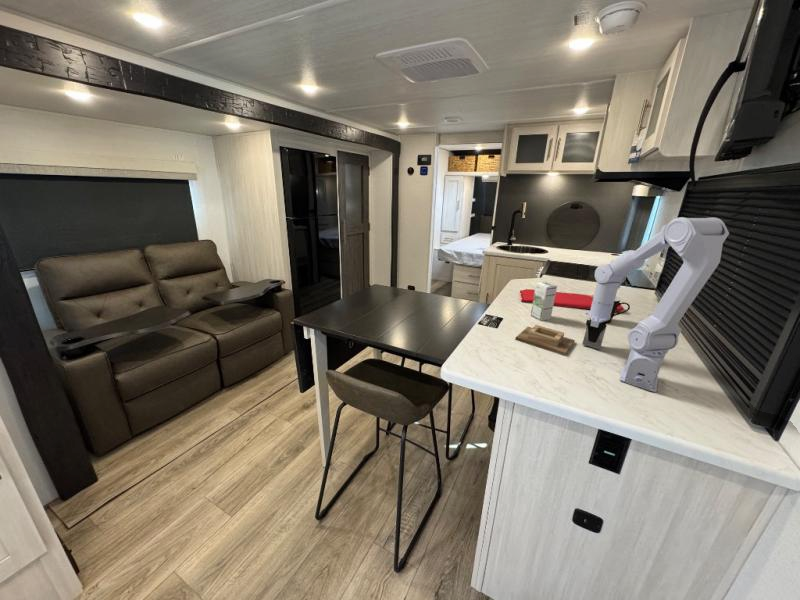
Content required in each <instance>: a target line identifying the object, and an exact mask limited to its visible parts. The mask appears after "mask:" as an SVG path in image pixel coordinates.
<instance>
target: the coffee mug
mask: <svg viewBox="0 0 800 600" xmlns="http://www.w3.org/2000/svg"><path fill="white" fill-rule="evenodd" d="M620 305H627V309H626V310H623V311H619V312H617V311H616V309H617V307H618V306H620ZM630 308H631V305H630V304H629V303H627V302H625V301H624V302H621V297H618V296H616V297H615V301H614V304H613V308H612V312H611V315H610V316H611V318H610V321H609V323H607V324H606V325H608V324H611V322H612V321H613V318H614V317H616V316H618V315H619V316H620V315H622V314H625V313H626V312H628V311H629V310H630ZM616 312H617V313H616Z"/></svg>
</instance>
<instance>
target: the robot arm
mask: <svg viewBox="0 0 800 600" xmlns="http://www.w3.org/2000/svg"><path fill="white" fill-rule="evenodd" d="M729 235H730V232H729V230H728V228H727V225H726V224H725V222H724V221H723V220H722V219H721V218H718V217H683V216H681V217H675V218H674V219H672V220H671V221H669V222H668V223H666V224H665V225H663V226H662V227H661V230H660V231H659V232H657V234H655V235H653V237H651V238H650V239H649V240H647V241H646V242H645V243H644V244H642V245H641V246H640V247H639V248H637V249H636V250H633V249H630V250H624V251H622V252H621V255H619V256H618V257H617V258H615V259H612V260H610V261H609V263H608V264H599V266H598V267H596V269H595V270H594V279H595V281H596V284H595V285H596V286H595V289H594V293H593V295H594V297H593V301H592V305H591V309H589V310H586V311H585V312H584V314H585V315H588V318H589V319H586V322H585V324H586V328H587V327H588V341H590V342H593V343H596V341H597V340H598V338H599V335H600V333H601V332H602V331H603V330H604V329H605V328H606V329H607V327H608V326H607V325H608V324H607V323H609V321H610V318H611V316H610V315H611V312H612V308H613V304H614V301H615V297H617V294H618V290H619V289H620V288H621V285H622V283H624V282H625V281H626V279H627V276H629V275H631V274H632V273H634V272H636V271H637V270H638V269H640V268H643V267H644V265H645V262H646V261H645V260H648V259H650V258H651V257H653V256H655V255H656V254H659V253H661V252H662V251H664V250H666V249H668V248H670V247H671V249H673V250H674V251H675V253H677V255H678V256H679V257H680V258H681V259H682V261H683V263H682V264H681V266H680V268H679V269H678V271H677V272H676V274H675V276H674V277H673V279H672V281H671V283H670V284H669V286H668V287H667V289H666V291H665V292H664V294H663V295H662V297H661V299H660V300H659V302H658V303H657V304H656V306H655V308H654V310H653V312H652V313H651V314H650V316H647V317H646V318H644V319H642V320H641V321H638V323H637V325H636V326H635V327H632V328H631V329H630V330H629V331H628V332H627V333H628V334H627V343H628V344H629V348H630V352H629V354H628V358H627V361H626V364H625V365H624V366H623V368H622V371H621V374H620V377H619V381H620V382H623V383H626V384H629V385H631V386H634V387H638V388H641V389H644V390H646V391H650V392H653V393H656V392H657V389H658V380H659V379H658V378H659V373H660V370H661V367H662V364H663V361H664V359H665V356H666V354H668V352H669V350H672V349H674V348H675V347H676V346H677V345H678V343H679V336H680V334H681V332H682V328H680V326H679V325H678V323H680V321H681V319H682V317H683V316H684V315H685V313H686V312H687V310H688V309H689V308H690V307H691V305H692V304H693V302H694V300H695V299H696V297H697V296H698V295H699V293H700V292H701V290H702V289H703V288H704V286H705V284H706V283H707V282H708V280H709V279H710V278H711V277H712V275H713V273H714V272H715V270H716V269H717V267H718V266H719V264H720V263H721V258H722V257H721V256H722V251H723V246H724V245H723V244H724V243H725V241H726V239H727V237H728V236H729ZM609 324H610V323H609Z"/></svg>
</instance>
